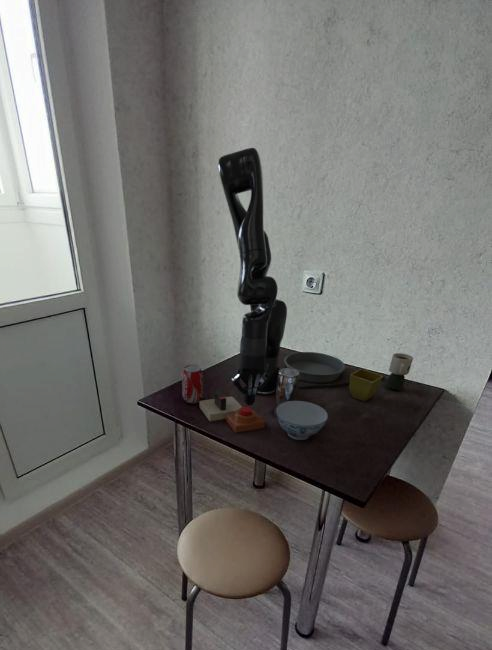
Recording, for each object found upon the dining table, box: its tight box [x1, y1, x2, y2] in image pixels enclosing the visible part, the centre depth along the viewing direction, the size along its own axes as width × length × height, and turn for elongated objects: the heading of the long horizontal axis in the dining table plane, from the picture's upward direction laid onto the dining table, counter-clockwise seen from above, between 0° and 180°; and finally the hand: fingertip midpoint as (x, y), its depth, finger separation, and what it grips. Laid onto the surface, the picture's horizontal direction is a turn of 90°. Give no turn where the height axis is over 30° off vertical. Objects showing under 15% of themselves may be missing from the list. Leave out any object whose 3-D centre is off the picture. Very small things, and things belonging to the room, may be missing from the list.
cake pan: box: [283, 351, 346, 384], centre depth 165 cm, size 25×25×4 cm
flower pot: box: [348, 368, 384, 402], centre depth 145 cm, size 9×9×9 cm
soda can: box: [181, 364, 204, 404], centre depth 137 cm, size 7×7×12 cm
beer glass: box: [273, 367, 300, 417], centre depth 130 cm, size 7×7×15 cm
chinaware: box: [276, 400, 328, 441], centre depth 121 cm, size 15×15×8 cm
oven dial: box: [214, 391, 226, 411], centre depth 130 cm, size 6×2×4 cm, turn 22°
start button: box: [240, 405, 253, 416], centre depth 125 cm, size 4×4×2 cm
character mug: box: [385, 352, 414, 391], centre depth 152 cm, size 11×7×13 cm, turn 165°
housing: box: [225, 409, 266, 433], centre depth 126 cm, size 10×8×4 cm
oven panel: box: [199, 396, 243, 422], centre depth 133 cm, size 12×11×3 cm
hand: (249, 404), depth 124 cm, fingers closed
